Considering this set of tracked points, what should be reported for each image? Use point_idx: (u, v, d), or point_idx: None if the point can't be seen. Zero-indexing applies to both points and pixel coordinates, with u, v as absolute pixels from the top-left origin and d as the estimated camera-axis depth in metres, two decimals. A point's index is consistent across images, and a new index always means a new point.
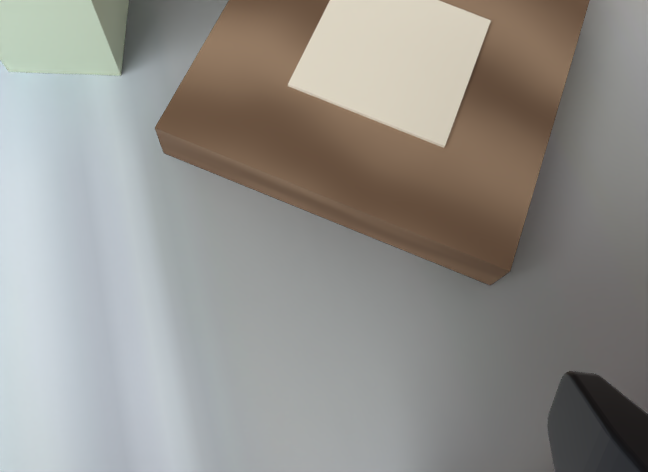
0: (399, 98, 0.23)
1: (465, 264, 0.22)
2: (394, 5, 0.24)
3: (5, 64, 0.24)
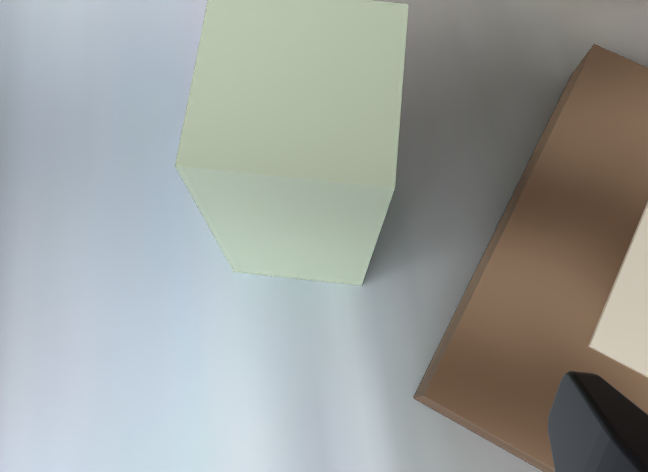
0: None
1: None
2: None
3: (233, 268, 0.20)
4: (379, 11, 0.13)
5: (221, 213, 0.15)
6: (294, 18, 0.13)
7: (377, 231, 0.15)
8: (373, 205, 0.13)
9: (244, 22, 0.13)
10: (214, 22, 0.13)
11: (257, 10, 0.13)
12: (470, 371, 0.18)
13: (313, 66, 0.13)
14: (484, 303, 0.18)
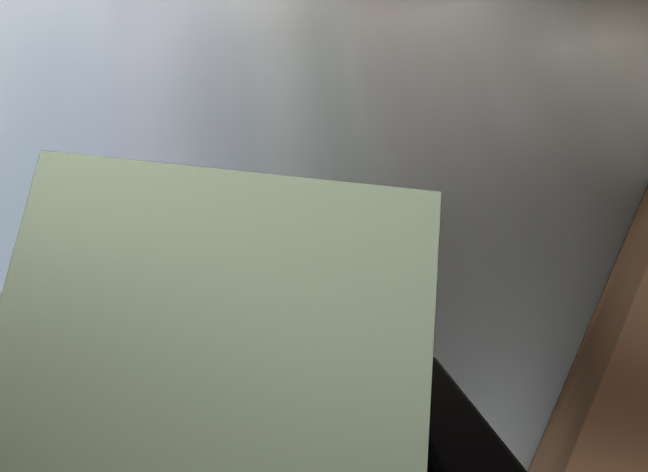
0: None
1: None
2: None
3: None
4: (381, 208, 0.06)
5: None
6: (207, 225, 0.06)
7: None
8: None
9: (102, 235, 0.06)
10: (40, 235, 0.06)
11: (131, 207, 0.06)
12: None
13: (242, 340, 0.06)
14: None
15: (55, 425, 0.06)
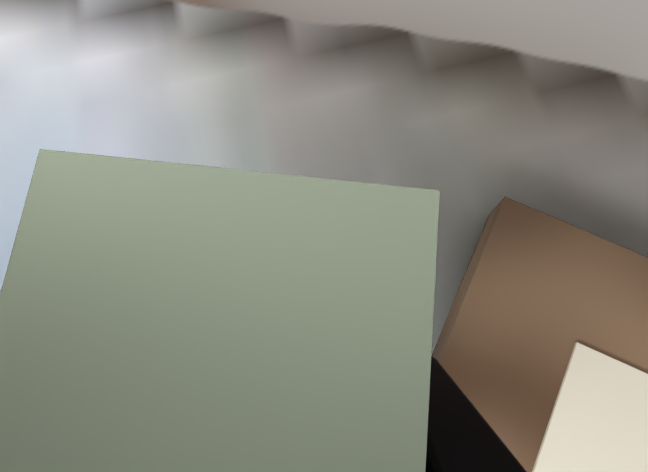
0: None
1: None
2: (643, 409, 0.18)
3: None
4: (380, 207, 0.06)
5: None
6: (205, 224, 0.06)
7: None
8: None
9: (101, 234, 0.06)
10: (39, 234, 0.06)
11: (130, 206, 0.06)
12: None
13: (241, 339, 0.06)
14: None
15: (54, 423, 0.06)
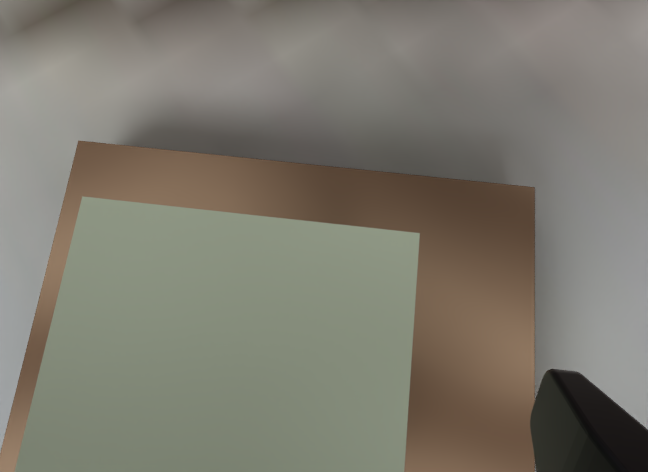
0: None
1: None
2: None
3: None
4: (369, 247, 0.08)
5: None
6: (223, 262, 0.08)
7: None
8: None
9: (134, 270, 0.08)
10: (83, 270, 0.08)
11: (158, 246, 0.08)
12: None
13: (252, 360, 0.07)
14: None
15: (98, 429, 0.07)
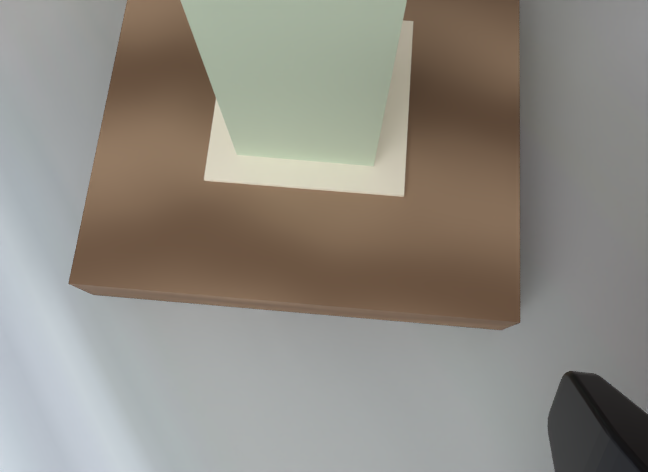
0: None
1: (467, 322, 0.19)
2: None
3: (236, 148, 0.19)
4: None
5: (219, 44, 0.13)
6: None
7: (391, 61, 0.13)
8: (388, 9, 0.12)
9: None
10: None
11: None
12: (105, 245, 0.19)
13: None
14: (102, 182, 0.19)
15: None
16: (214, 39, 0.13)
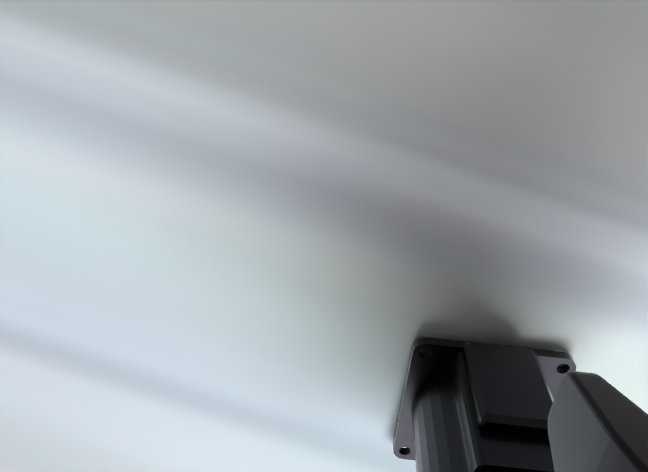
0: None
1: None
2: None
3: None
4: None
5: None
6: None
7: None
8: None
9: None
10: None
11: None
12: None
13: None
14: None
15: None
16: None
